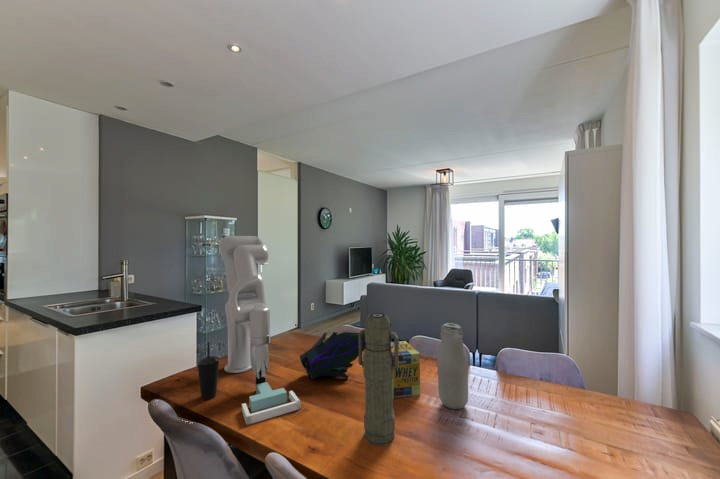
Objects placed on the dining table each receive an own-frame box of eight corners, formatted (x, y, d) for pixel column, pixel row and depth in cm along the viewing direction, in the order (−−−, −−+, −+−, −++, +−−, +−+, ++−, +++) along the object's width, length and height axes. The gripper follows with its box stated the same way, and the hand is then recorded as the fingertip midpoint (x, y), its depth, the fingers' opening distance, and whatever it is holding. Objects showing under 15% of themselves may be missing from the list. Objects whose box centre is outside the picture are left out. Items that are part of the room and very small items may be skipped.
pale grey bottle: (468, 401, 107) (466, 320, 107) (468, 417, 97) (467, 328, 97) (439, 396, 110) (437, 319, 110) (436, 411, 100) (435, 326, 100)
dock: (241, 411, 102) (241, 403, 102) (292, 397, 111) (292, 390, 111) (246, 425, 94) (246, 417, 94) (300, 408, 103) (300, 401, 103)
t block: (245, 396, 112) (244, 387, 112) (277, 388, 118) (277, 379, 118) (251, 412, 102) (251, 401, 102) (286, 402, 108) (286, 392, 108)
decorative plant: (309, 394, 131) (368, 363, 144) (319, 397, 109) (389, 360, 121) (292, 348, 137) (351, 322, 149) (299, 341, 115) (367, 311, 127)
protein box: (393, 399, 108) (392, 355, 109) (381, 380, 124) (381, 342, 124) (421, 396, 111) (420, 353, 111) (406, 377, 126) (405, 340, 126)
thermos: (399, 448, 83) (396, 319, 83) (356, 443, 85) (354, 317, 85) (401, 428, 91) (399, 312, 92) (362, 424, 94) (361, 310, 94)
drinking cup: (210, 403, 108) (210, 346, 108) (192, 401, 109) (191, 345, 110) (224, 392, 115) (224, 339, 116) (206, 390, 117) (206, 338, 117)
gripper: (246, 336, 121) (246, 382, 121) (253, 346, 109) (254, 398, 108) (265, 333, 125) (265, 377, 125) (275, 343, 112) (275, 393, 112)
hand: (260, 387), depth 117 cm, fingers closed
